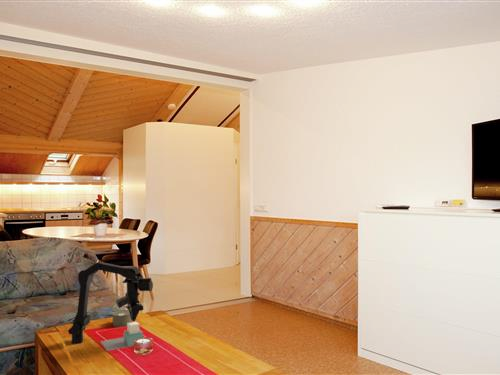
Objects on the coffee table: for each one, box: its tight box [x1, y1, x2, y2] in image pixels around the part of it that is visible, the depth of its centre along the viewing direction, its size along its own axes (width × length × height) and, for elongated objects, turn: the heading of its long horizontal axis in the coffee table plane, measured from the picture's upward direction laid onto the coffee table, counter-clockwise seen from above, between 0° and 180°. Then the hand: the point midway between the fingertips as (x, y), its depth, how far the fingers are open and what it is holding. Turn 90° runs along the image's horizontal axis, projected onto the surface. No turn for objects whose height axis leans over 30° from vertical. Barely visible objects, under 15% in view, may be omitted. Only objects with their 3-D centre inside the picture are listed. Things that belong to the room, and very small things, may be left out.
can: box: [111, 309, 133, 328], centre depth 269 cm, size 12×12×7 cm
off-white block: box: [126, 321, 140, 334], centre depth 233 cm, size 5×5×5 cm
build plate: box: [100, 328, 144, 352], centre depth 233 cm, size 16×19×7 cm
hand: (133, 320), depth 233 cm, fingers open, 2 cm apart
